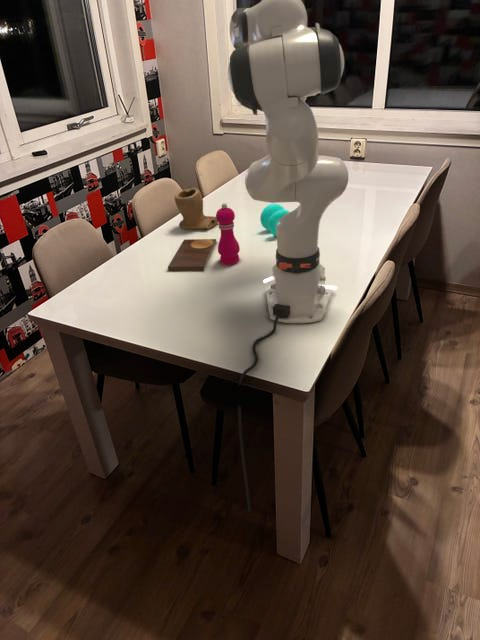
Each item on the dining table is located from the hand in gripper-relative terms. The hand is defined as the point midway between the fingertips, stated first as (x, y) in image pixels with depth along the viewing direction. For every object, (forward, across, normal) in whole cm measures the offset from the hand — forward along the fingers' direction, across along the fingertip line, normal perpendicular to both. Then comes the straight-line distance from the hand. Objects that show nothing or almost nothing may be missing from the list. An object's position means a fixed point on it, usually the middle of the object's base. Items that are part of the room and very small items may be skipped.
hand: (283, 113), depth 143 cm
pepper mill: (+44, -18, -8) cm, 49 cm away
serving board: (+44, -32, -5) cm, 55 cm away
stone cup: (+44, -38, +21) cm, 62 cm away
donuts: (+44, -6, +16) cm, 47 cm away
